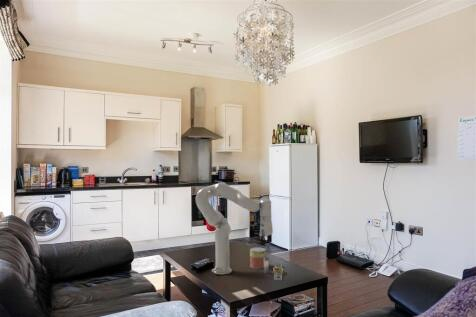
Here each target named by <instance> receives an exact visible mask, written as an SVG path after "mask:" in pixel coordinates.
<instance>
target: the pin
mask: <svg viewBox="0 0 476 317" xmlns="http://www.w3.org/2000/svg"><path fill="white" fill-rule="evenodd" d="M263 260H264V268H263V274H265V275H268V274H269V272H270V271H269V269H270V268H269V264H270V263H269V260H270V258H269V257H265V258H263Z"/></svg>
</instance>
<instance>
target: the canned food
mask: <svg viewBox="0 0 476 317" xmlns="http://www.w3.org/2000/svg"><path fill="white" fill-rule="evenodd" d="M266 254H267V253H266V248H264V247H251V248H250V249H249V263H250V264H249V267H250V268H251V269H257V270H258V269H259V270H261V269H264V260H263V258H265V257H266V256H267V255H266Z"/></svg>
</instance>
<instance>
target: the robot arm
mask: <svg viewBox="0 0 476 317" xmlns="http://www.w3.org/2000/svg"><path fill="white" fill-rule="evenodd" d="M218 196H220V197H222V198H224V199H226V200H228V201H230V202H233V203H234V204H236V205H237V206H239V207H241V208H243V209H246V210H247V211H249V212H252V213H256V212H258V211H259V216H260V217H259V218H260V224H259V226H260V229H259V233H258V235H259V239H260V244H259V245H260V246H265V245H266V241H267V242H268V243H273V242H272V240H273V231H274V230H273V229H274V228H273V221H272V201H271V200H270V199H257V198H256V199H253V198H250V197H247V196H246V195H244V194H243V193H242V192H241V191H239V190H238V189H236V188H234V187H231V186H230V185H229V184H227V183H226V182H224V181H223V182H218V183H215V184H212V185H208V186H206V187H203V188H200V189H199V190H198V191H197V193H196V196H195V204H196V206H197V208H198V209H199V211H200V213H201V214H202V216H203V217H204V220H206V222H207V223H208V225H209V226H210V227H211V226H212V227H214V228H215V231H214V240H215V241H214V242H215V244H214V245H215V248H214V249H215V266H214V268H213V269H211V272H212V273H214V274H216V275H228V274H231V273H232V268H231V267H230V238H229V237H230V234H231V231H232V229H231V225H230V224H229V223H228V221H227V219H226V218H225V216H224V215H223V214H222V212H220V210H215V208H214V207H213V205H212V204H211V203H210V202H209V200H210V199H212V198H215V197H218ZM266 237H267V238H266ZM265 238H266V239H265Z"/></svg>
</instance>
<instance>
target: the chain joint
mask: <svg viewBox="0 0 476 317" xmlns="http://www.w3.org/2000/svg"><path fill="white" fill-rule="evenodd" d="M272 269H273V270H272V276H273V280H274V281H283V275H284V268H283V265H282V264H277V263H276V264H275V265H274V267H273V268H272Z"/></svg>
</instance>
